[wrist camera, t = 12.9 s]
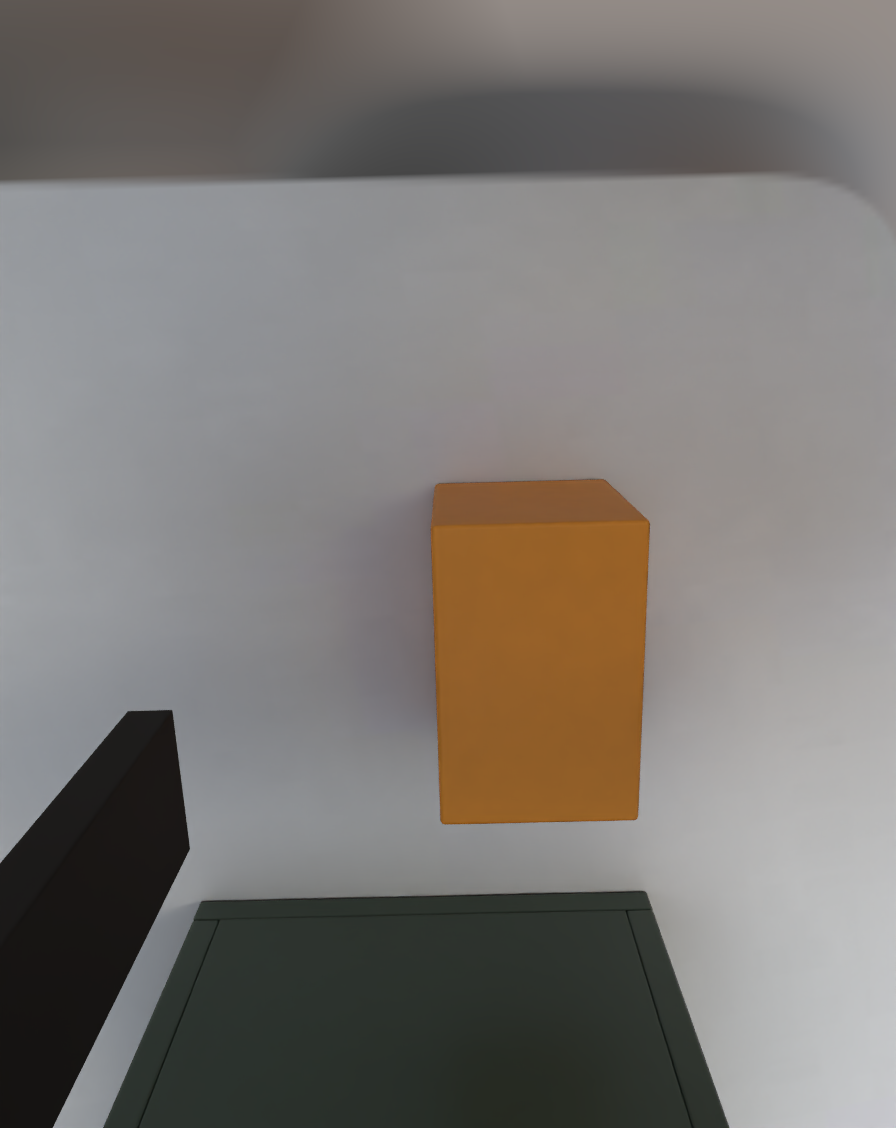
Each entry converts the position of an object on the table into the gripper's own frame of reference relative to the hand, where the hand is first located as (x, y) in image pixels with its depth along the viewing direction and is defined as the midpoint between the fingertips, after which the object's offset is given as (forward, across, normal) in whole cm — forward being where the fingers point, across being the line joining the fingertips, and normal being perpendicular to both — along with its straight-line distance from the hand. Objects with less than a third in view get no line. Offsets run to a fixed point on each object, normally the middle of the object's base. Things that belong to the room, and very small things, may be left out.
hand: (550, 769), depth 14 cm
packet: (+8, 0, 0) cm, 9 cm away
